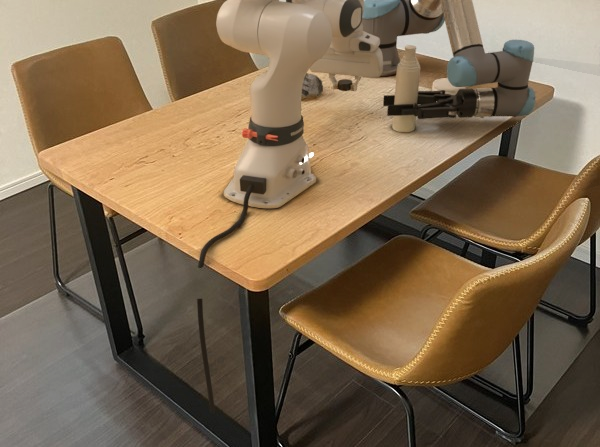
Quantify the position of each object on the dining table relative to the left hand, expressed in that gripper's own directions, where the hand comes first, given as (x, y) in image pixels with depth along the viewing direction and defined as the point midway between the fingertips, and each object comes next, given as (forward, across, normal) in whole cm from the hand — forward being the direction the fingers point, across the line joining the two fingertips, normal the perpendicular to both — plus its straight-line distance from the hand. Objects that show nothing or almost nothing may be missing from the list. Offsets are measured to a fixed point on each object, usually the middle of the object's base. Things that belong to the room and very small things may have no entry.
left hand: (345, 89), depth 171 cm
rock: (+7, -17, +11) cm, 22 cm away
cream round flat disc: (+7, +26, +22) cm, 35 cm away
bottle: (+7, +18, -6) cm, 20 cm away
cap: (-2, 0, 0) cm, 2 cm away
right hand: (0, +13, -7) cm, 15 cm away
